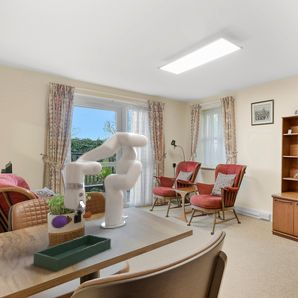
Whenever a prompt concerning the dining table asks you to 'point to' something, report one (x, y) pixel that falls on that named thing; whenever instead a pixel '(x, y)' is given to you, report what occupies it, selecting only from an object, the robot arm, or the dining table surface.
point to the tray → (71, 252)
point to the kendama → (65, 220)
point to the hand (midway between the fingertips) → (73, 221)
